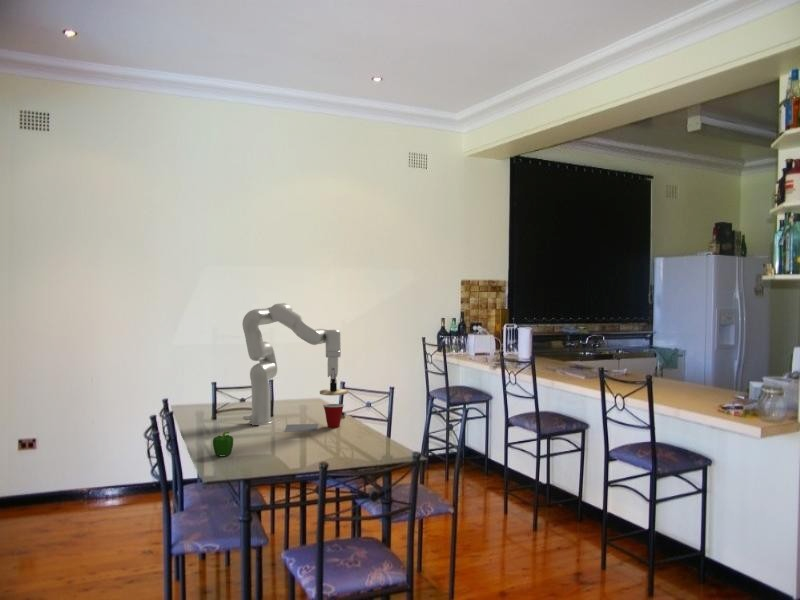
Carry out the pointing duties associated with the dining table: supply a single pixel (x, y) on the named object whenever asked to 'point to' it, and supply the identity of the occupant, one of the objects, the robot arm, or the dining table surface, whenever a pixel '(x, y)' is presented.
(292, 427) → the mat
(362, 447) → the dining table surface
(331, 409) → the plastic cup
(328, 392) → the lid
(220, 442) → the bell pepper
